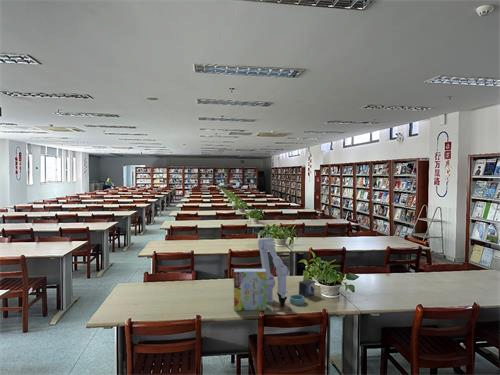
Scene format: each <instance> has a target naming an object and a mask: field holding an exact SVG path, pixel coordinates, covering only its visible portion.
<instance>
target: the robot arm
mask: <svg viewBox="0 0 500 375" xmlns="http://www.w3.org/2000/svg"><path fill="white" fill-rule="evenodd" d="M257 245H258V246H257V247H258V251H259V254H260V262H261V269H266V303H274V297H273V295H274V294H273V292H274V287H275V286H276V280H275V277H274V275H273V274H272V273H271V269H270V260H269V254H270V255H271V257H272V263H273V265H274V267H275V269H276V270H275V273H276V278H277V291H276V294H277V296H278V303H280V306H281V307H284V305H285V303H286V300H287V298H288V296H286V294H288V293H289V291H288V290H287V275H288V274H289V268H288V266H287V265H285V264H284V262H283V260H282V258H281V257H280V256H278V253H277V251H276V248H275V241H274V238H273V237H271V236H270V237H263V238H259V239H258V241H257ZM268 252H269V254H268Z"/></svg>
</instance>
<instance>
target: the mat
mask: <svg viewBox="0 0 500 375" xmlns="http://www.w3.org/2000/svg"><path fill="white" fill-rule="evenodd" d="M289 304H290V303H289ZM269 305H270V308H271V313H275V312H274V311H273V308H272V303H270V304H269ZM290 306H291V309H292V311H282V312H281V313H294V309H293V307H292V304H290Z"/></svg>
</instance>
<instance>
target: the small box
mask: <svg viewBox="0 0 500 375" xmlns="http://www.w3.org/2000/svg"><path fill="white" fill-rule="evenodd" d="M315 282H316V281H314V280H312V279H304V280H300V281H298V295H301V296H304V298H308V297H312V296H315V285H316V284H315Z"/></svg>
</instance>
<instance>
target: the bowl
mask: <svg viewBox="0 0 500 375" xmlns="http://www.w3.org/2000/svg"><path fill="white" fill-rule="evenodd" d="M305 299H306V297H304V296H301V295H299V294H292V295H290V296H289V297H288V303H289V304H291V305H294V306H302V305H304V304H305V303H306V302H305Z"/></svg>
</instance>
